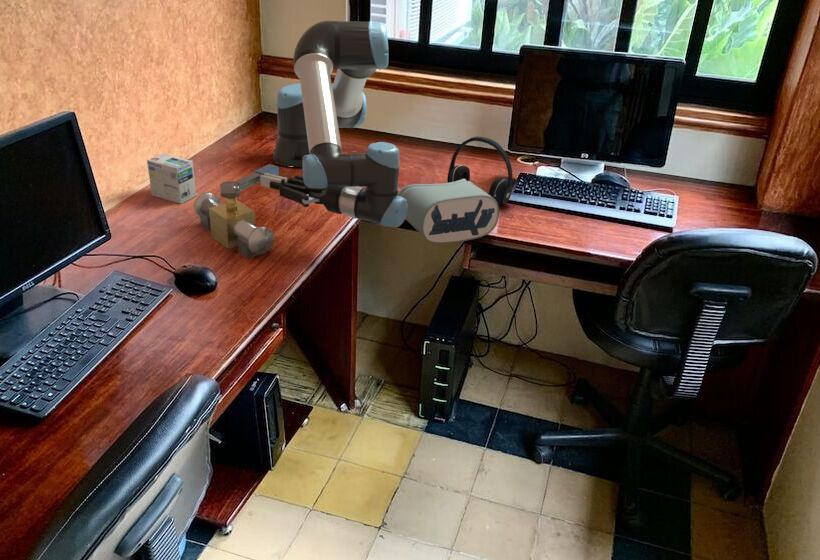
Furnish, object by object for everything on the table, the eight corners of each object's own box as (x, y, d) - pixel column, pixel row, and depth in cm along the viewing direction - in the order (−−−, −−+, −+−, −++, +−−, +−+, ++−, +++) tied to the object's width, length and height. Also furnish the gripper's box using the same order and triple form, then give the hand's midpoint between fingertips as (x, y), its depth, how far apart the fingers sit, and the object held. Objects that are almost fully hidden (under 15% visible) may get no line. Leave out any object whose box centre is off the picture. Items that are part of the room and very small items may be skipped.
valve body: (193, 224, 191) (189, 181, 185) (220, 216, 196) (217, 174, 190) (248, 262, 175) (246, 217, 169) (276, 253, 180) (274, 208, 174)
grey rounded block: (421, 249, 186) (423, 202, 180) (392, 220, 202) (394, 176, 196) (496, 238, 195) (501, 192, 189) (464, 211, 210) (467, 168, 204)
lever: (231, 199, 177) (230, 190, 175) (216, 194, 179) (215, 185, 177) (281, 175, 191) (281, 167, 190) (266, 171, 193) (266, 162, 192)
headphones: (513, 203, 215) (521, 144, 206) (501, 211, 210) (509, 150, 201) (455, 184, 224) (461, 127, 215) (443, 191, 219) (448, 132, 210)
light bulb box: (197, 196, 206) (193, 160, 200) (181, 204, 201) (177, 167, 195) (167, 187, 209) (162, 152, 204) (150, 196, 204) (145, 159, 199)
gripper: (331, 224, 174) (247, 202, 182) (358, 203, 186) (278, 183, 193) (331, 195, 171) (246, 174, 178) (358, 175, 182) (277, 156, 189)
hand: (263, 179), depth 186 cm, fingers closed
